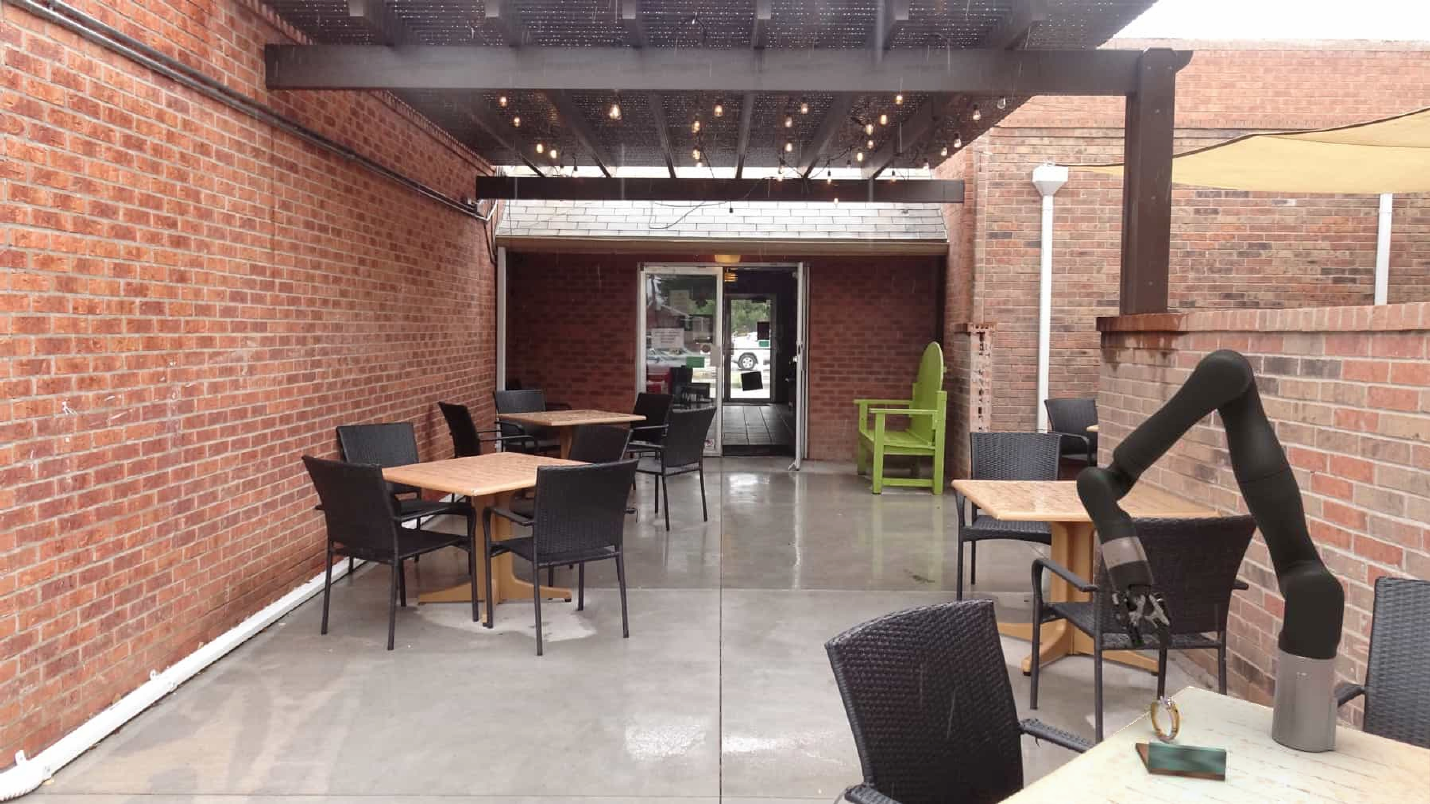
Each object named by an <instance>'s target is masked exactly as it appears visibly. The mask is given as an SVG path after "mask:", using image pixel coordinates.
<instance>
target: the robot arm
mask: <svg viewBox="0 0 1430 804" xmlns="http://www.w3.org/2000/svg"><path fill="white" fill-rule="evenodd" d="M1214 411H1217V413H1218V414H1219V416H1220V419H1221V421H1222V425H1223V427H1224V430H1225V431H1224V432H1225V435H1226V440H1227V447H1228V454H1229V460H1230V463H1231V464H1230V465H1231V469H1232V473H1233V475H1234V479H1235V480H1236V483H1237V486H1238V488H1239V491H1240V493H1241V496H1242V498H1243V500H1244V503H1245V504H1246V506H1247V509H1248V511H1249V513H1250V515H1251V517H1252V519H1253V521H1254V523H1255V525H1256V527H1257V529H1258V530H1259V532H1260V534H1261V535H1262V538H1263V540H1264V542H1265V544H1266V547H1267V549H1268V550H1267V551H1268V552H1269V555H1270V559H1271V563H1272V565H1273V569H1274V572H1275V577H1276V578H1275V579H1276V581H1277V585H1278V589H1279V593H1280V595H1281V596H1282V598H1283V599H1284V609H1283V610H1284V612H1283V622H1282V627H1281V630H1280V631H1279V633H1278V636H1277V637H1278V639H1277V651H1276V653H1277V654H1276V655H1277V656H1276V665H1275V678H1274V679H1275V683H1274V697H1273V709H1272V712H1273V713H1272V723H1271V727H1272V728H1271V737H1272V739H1274V740H1275V741H1276V742H1277V743H1279V744H1281V745H1284V746H1286V747H1288V748H1291V749H1292V748H1293V749H1295V750H1299V751H1306V752H1311V753H1312V752H1313V753H1314V752H1315V753H1317V752H1325V751H1335V748H1336V747H1335V745H1336V735H1337V733H1336V732H1337V720H1338V708H1339V707H1338V706H1339V705H1338V704H1339V700H1338V698H1337V697H1335V694H1334V692H1335V677H1336V661H1337V655H1338V654H1337V651H1338V646H1339V645H1340V643H1341V639H1342V633H1343V625H1344V623H1343V622H1344V614H1345V605H1346V603H1345V602H1346V601H1345V599H1346V598H1345V590H1344V587H1343V585H1342V583H1341V581H1340V580H1339V579H1338V578H1337V577H1336V576H1334V574H1333V573H1332V572H1331V571H1330V570H1329V569H1328V568H1327V566H1326V565H1325V563H1324V561H1323V560H1322V558H1321V556H1320V555H1319V552H1318V550H1317V549H1316V547H1315V544H1314V542H1313V539H1312V538H1311V535H1310V533H1309V531H1308V525H1307V522H1306V521H1307V520H1306V515H1305V508H1304V503H1303V498H1302V495H1301V491H1300V488H1299V485H1298V482H1297V479H1296V477H1295V475H1294V472H1293V469H1292V468H1291V467H1292V466H1291V464H1290V462H1289V460H1288V458H1287V456H1286V453H1285V452H1284V450H1283V447H1282V445H1281V443H1280V441H1279V439H1278V436H1277V435H1276V433H1275V431H1274V429H1273V427H1272V425H1271V423H1270V422H1269V419H1268V417H1267V414H1266V413H1265V408H1264V406H1263V404H1262V400H1261V396H1260V392H1259V390H1258V385H1257V382H1256V378H1255V373H1254V369H1253V366H1252V365H1251V362H1250V361H1249V360H1248V359H1247V358H1246V357H1245V356H1244V355H1243V354H1241V353H1240V352H1239V351H1237V350H1233V349H1227V348H1221V349H1217V350H1215V351H1212V352H1210V353H1209V354H1207V355H1206V356H1205V357H1203V358H1202V359H1200V361H1199V362H1198V363H1197V364H1196V366H1195V368H1194V370H1193V371H1192V373H1191V374H1190V376H1189V377H1187V379H1186V380H1185V382H1184V383H1183V384H1182V386H1181V387H1180V389H1178V391H1177V392H1176V393H1175V394H1174V395H1173V396H1172V397H1171V398H1170V399H1169V400H1168V401H1167V403H1165V404H1164V405H1162V407H1161V408H1160V409H1159V410H1157V411H1156V412H1155V413H1153V414H1152V415H1151V416H1149V418H1147V419H1146V420H1145V421H1143V422H1142V423H1141V424H1140V425H1139V426H1137V427H1136V428H1135V429H1134V430H1133V431H1132V432H1131V433H1130V434H1128V435H1127V437H1126V438H1124V439H1123V440H1122V441H1121V442H1119V444H1118V445H1117V446H1115V448H1114V449H1113V451H1112V459H1113V460H1112V462H1111V463H1110V464H1109V465H1108V466H1107V467H1099V466H1088V467H1085V468H1083V469H1082V470H1081V471H1080V472H1079V473H1078V475H1077V478H1076V492H1077V495H1078V498H1079V500H1080V502H1081V504H1082V506H1083V508H1084V509H1085V511H1086V513H1087V515H1088V516H1089V518H1090V519H1091V521H1092V522H1093V523H1092V524H1093V525H1094V526H1095V530H1096V533H1097V537H1098V539H1099V543H1100V546H1101V550H1102V557H1103V559H1104V564H1105V566H1106V570H1107V573H1108V576H1109V579H1110V582H1111V585H1112V588H1113V591H1115V592H1116V593H1114V594H1113V593H1112V594H1111V595H1108V598H1109V602H1110V605H1111V609H1112V613H1113V616H1114V620H1115V625H1116V626H1117V627H1123V628H1124V629H1125V630H1126V632H1127V634H1128V635H1127V636H1128V638H1129V640H1130V643H1131V644H1130V645H1131V646H1132V648H1133V650H1139V649H1144V648H1145V647H1146V644H1145V641H1144V637H1143V635H1142V631H1141V629H1140V626H1139V624H1140V622H1139V621H1140V618H1141V617H1142V618H1143V617H1144V618H1145V619H1146V620H1147V621H1150V622H1151V623H1152V624H1153V626H1154V627H1155V632H1156V634H1157V638H1158V640H1159V644H1160V646H1161V647H1162V648H1169V647H1173V646H1174V641H1173V637H1172V635H1171V632H1170V628H1169V625H1170V623H1173V622H1174V621H1175V618H1174V616H1173V615H1174V614H1172V611H1171V608H1170V605H1169V602H1168V599H1167V597H1166V595H1165V593H1164V592H1163V590H1161V591H1157V592H1153V590H1152V588H1151V587H1152V585H1154V583H1155V580H1154V577H1153V573H1152V570H1151V568H1150V565H1149V562H1148V559H1147V555H1146V552H1145V550H1144V548H1143V545H1142V543H1141V542H1140V541H1141V540H1140V538H1139V537H1138V534H1137V530H1136V527H1135V525H1134V521H1133V519H1132V517H1131V515H1130V514H1129V512H1128V511H1126V510H1124V509H1123V508H1121V507H1120V505H1119V503H1118V502H1119V501H1120V500H1122V499H1124V498H1125V497H1126V496H1127V495H1128V494H1129V493H1130V492H1131V491H1132V489H1133V487H1134V486H1135V485H1136V484H1137V482H1138V481H1139V479H1140V478H1141V476H1142V474H1143V473H1144V472H1146V471H1147V470H1148V469H1150V468H1151V467H1152V466H1153V465H1154V464H1155V463H1156V462H1157V461H1158V460H1159V459H1160V458H1161V457H1163V456H1164V455H1165V454H1166V453H1167V452H1168V451H1169V450H1170V449H1171V448H1172V447H1173V446H1174V445H1175V444H1176V443H1177V442H1178V441H1179V440H1180V439H1181V438H1182V436H1184V435H1185V433H1187V432H1188V431H1189V430H1190V429H1191V428H1193V426H1195V425H1196V424H1197V423H1198V422H1199V421H1201V420H1202V419H1203V418H1205V417H1207V416H1208V415H1210V414H1211V413H1212V412H1214ZM1121 613H1122V616H1121ZM1164 613H1165V614H1164ZM1165 615H1166V616H1165ZM1122 617H1123V618H1122Z"/></svg>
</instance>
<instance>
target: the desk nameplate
mask: <svg viewBox="0 0 1430 804" xmlns="http://www.w3.org/2000/svg"><path fill="white" fill-rule="evenodd" d="M1135 750H1136V752H1137V754H1138V755H1139V758H1140V759H1141V760H1142V763H1143V765H1144V767H1145V768H1146V770H1147V772H1148V773H1149V774H1154V775H1163V776H1165V775H1166V776H1173V777H1174V776H1175V777H1184V778H1194V779H1195V778H1196V779H1202V780H1203V779H1205V780H1215V781H1223V782H1225V781H1226V774H1227V773H1226V772H1227V771H1226V769H1227V758H1228V757H1227V755H1228V753H1227V750H1226V749H1225V748H1217V747H1205V746H1195V745H1185V744H1174V743H1163V742H1155V741H1154V742H1151V741H1149V742H1148V743H1143V742H1135Z"/></svg>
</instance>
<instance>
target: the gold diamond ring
mask: <svg viewBox="0 0 1430 804" xmlns="http://www.w3.org/2000/svg"><path fill="white" fill-rule="evenodd" d="M1159 697H1160V698H1159V700H1158V699H1157V700H1155V701H1152V702H1151V704H1150V708H1149V711H1150V713H1149V715H1150V719H1151V720H1150V721H1151V723H1152V726H1153V729H1154V731H1155V733H1156V734H1157V736H1158V737H1159V739H1160V740H1161V741H1172V740H1174V739H1175V738H1176V737H1177V735H1178V733H1179V729H1180V726H1181V725H1180V723H1181V719H1180V714H1179V711H1178V708H1177V707H1176V702H1175V701H1174V700H1172V698H1171V697H1170V696H1167V698H1165V697H1163V695H1160V696H1159ZM1160 706H1162V708H1164V709H1165V710H1166V711H1167V713H1168V715H1169V717H1170V721H1171V729H1170V730H1171V731H1170V733H1169V734H1168V735H1167V734H1166V733H1164V732H1163V731H1162V729H1161V727H1160V724H1159V720H1158V712H1159V711H1158V710H1159V708H1160Z"/></svg>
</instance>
